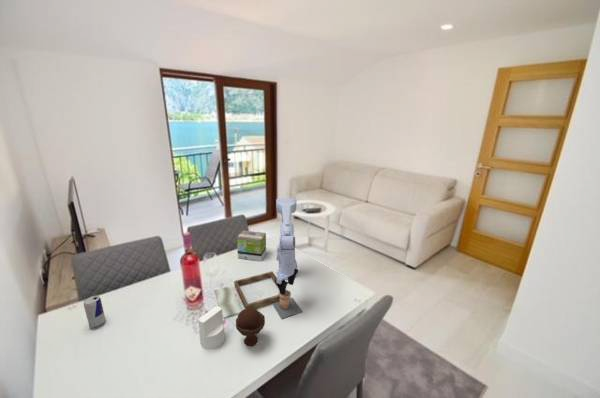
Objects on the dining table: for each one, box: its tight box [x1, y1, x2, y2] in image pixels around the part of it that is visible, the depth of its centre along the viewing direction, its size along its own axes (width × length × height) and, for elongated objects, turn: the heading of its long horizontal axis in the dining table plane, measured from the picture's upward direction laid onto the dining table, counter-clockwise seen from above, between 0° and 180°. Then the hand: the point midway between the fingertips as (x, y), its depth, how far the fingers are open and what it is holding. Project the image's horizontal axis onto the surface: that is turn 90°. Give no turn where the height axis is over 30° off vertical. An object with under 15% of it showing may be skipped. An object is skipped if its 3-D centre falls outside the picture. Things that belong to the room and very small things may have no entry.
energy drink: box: [83, 295, 107, 330], centre depth 105 cm, size 5×5×12 cm
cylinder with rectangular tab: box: [197, 305, 226, 350], centre depth 99 cm, size 9×9×12 cm
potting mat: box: [272, 297, 303, 320], centre depth 118 cm, size 10×10×1 cm
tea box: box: [236, 230, 267, 262], centre depth 159 cm, size 15×10×15 cm
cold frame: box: [214, 271, 280, 320], centre depth 126 cm, size 30×20×3 cm
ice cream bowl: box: [235, 308, 266, 348], centre depth 99 cm, size 11×11×15 cm
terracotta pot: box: [278, 289, 292, 310], centre depth 118 cm, size 5×5×7 cm
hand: (286, 288), depth 116 cm, fingers open, 7 cm apart
